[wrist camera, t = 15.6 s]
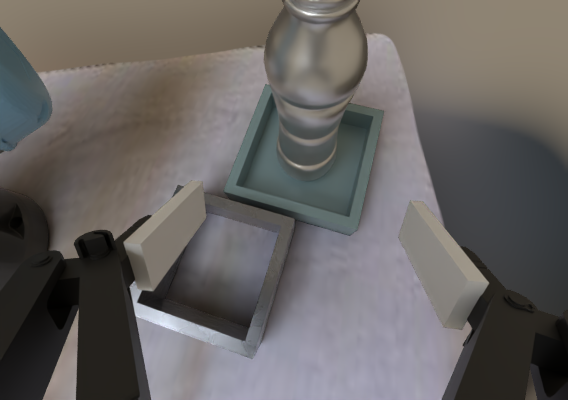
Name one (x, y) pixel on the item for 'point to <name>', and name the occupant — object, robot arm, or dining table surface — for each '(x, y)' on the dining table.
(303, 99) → the metal bottle
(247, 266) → the dining table surface
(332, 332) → the dining table surface
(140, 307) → the holder sleeve
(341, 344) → the dining table surface
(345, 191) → the tray
